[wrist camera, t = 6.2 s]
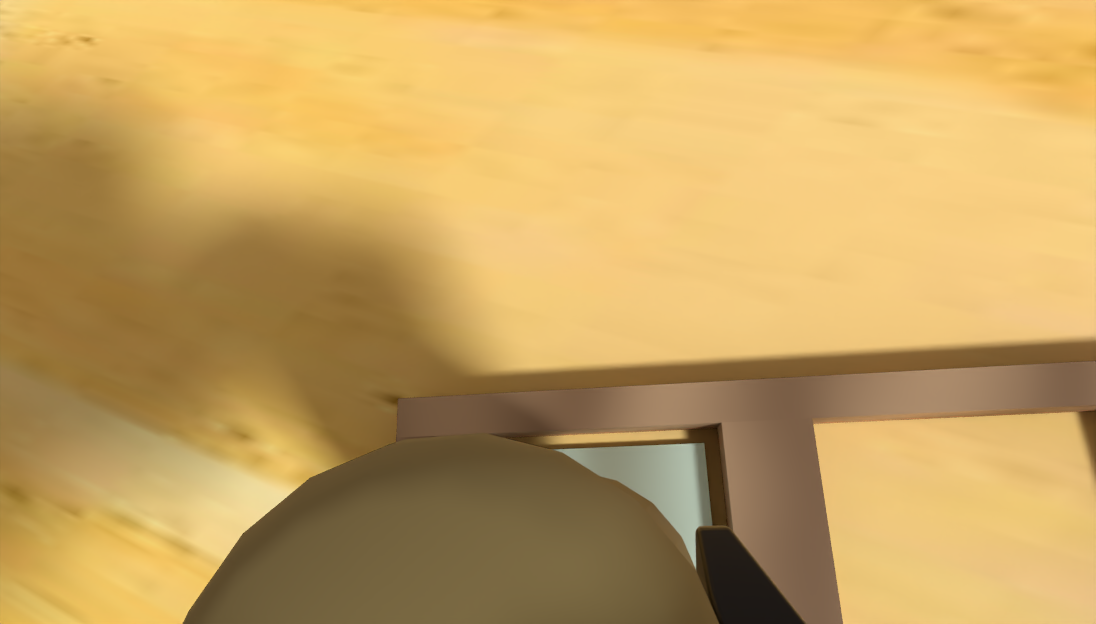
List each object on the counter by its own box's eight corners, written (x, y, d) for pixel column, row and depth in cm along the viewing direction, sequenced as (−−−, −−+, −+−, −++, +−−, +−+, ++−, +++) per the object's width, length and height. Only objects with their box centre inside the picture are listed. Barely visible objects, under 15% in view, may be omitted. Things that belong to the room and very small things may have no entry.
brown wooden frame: (396, 796, 18) (380, 814, 17) (411, 405, 22) (398, 398, 21) (1287, 816, 16) (1337, 839, 14) (1147, 366, 19) (1178, 356, 18)
